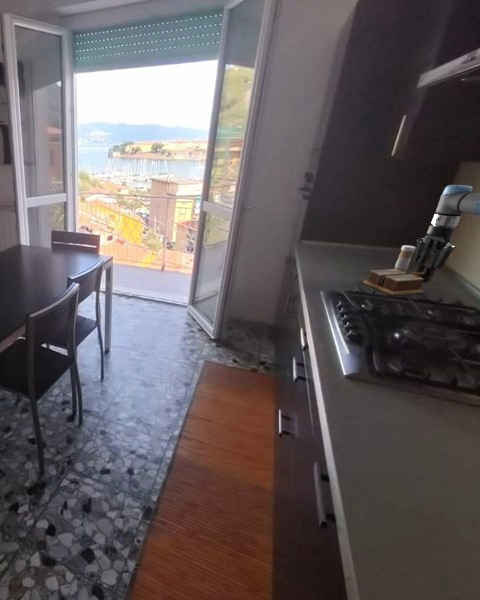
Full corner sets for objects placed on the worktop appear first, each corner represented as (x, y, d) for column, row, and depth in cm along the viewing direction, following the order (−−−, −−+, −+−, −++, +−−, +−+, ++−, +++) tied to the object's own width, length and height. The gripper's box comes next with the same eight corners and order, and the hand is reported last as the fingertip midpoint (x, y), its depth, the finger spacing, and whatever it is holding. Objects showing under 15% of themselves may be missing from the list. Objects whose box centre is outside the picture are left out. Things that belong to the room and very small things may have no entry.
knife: (424, 280, 152) (428, 271, 151) (430, 282, 150) (434, 273, 149) (378, 282, 149) (381, 273, 148) (383, 284, 147) (386, 275, 145)
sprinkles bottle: (395, 272, 168) (406, 244, 162) (406, 275, 164) (418, 246, 159) (390, 273, 166) (400, 245, 161) (401, 276, 162) (412, 248, 157)
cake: (422, 293, 144) (428, 279, 142) (392, 295, 142) (398, 281, 140) (390, 281, 157) (395, 268, 155) (362, 282, 155) (367, 269, 153)
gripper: (415, 222, 148) (395, 275, 157) (456, 230, 134) (431, 288, 143) (430, 221, 149) (409, 274, 158) (473, 229, 135) (447, 287, 144)
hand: (420, 280), depth 151 cm, fingers closed on knife, 2 cm apart
